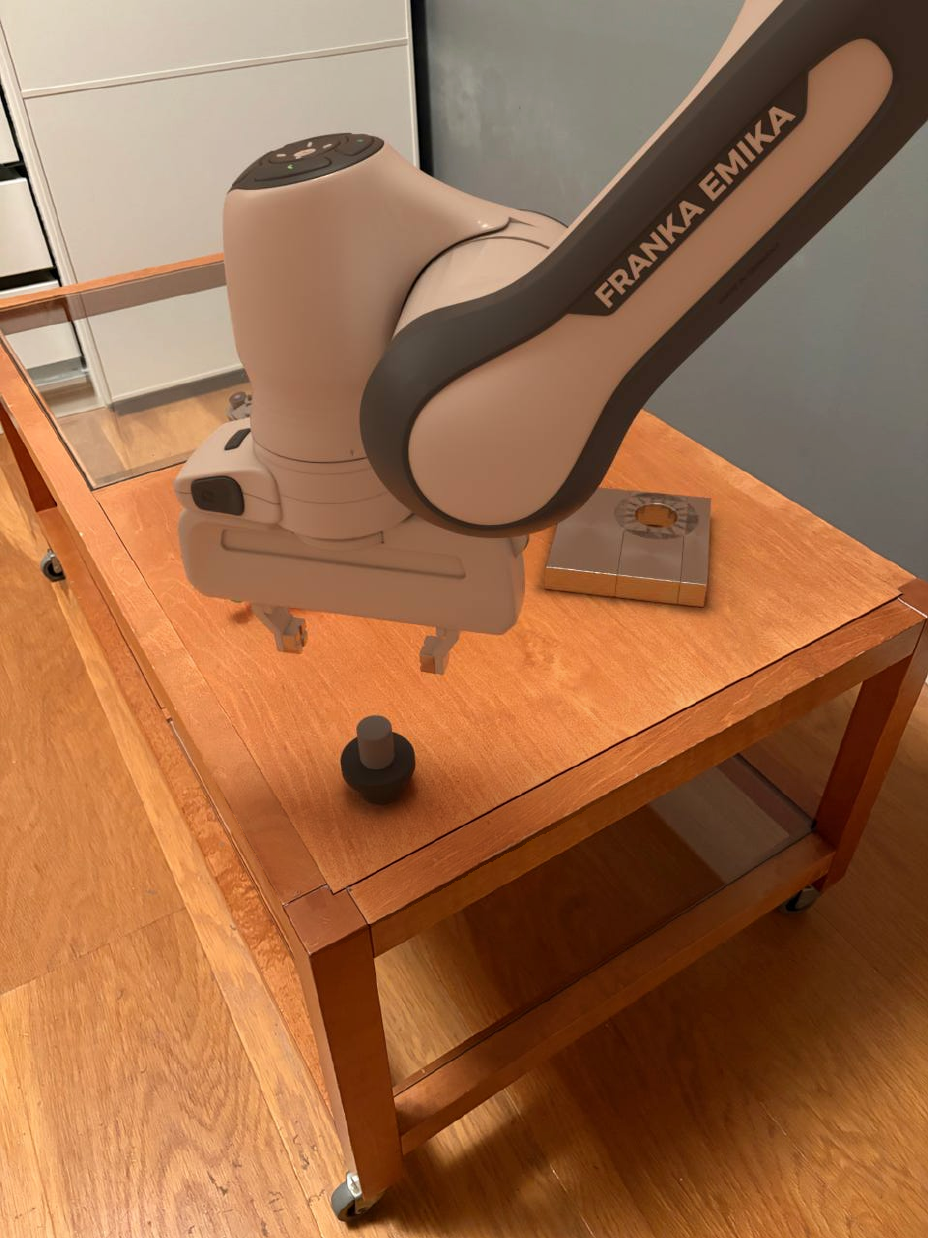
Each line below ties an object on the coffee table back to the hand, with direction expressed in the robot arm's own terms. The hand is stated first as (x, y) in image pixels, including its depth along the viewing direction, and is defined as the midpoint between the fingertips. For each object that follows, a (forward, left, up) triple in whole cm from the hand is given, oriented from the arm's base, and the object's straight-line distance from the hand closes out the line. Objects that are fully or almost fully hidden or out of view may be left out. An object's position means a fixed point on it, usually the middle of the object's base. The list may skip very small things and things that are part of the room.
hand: (363, 657), depth 60 cm
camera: (+22, -34, -13) cm, 42 cm away
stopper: (0, 0, -13) cm, 13 cm away
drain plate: (-15, -32, -13) cm, 38 cm away
